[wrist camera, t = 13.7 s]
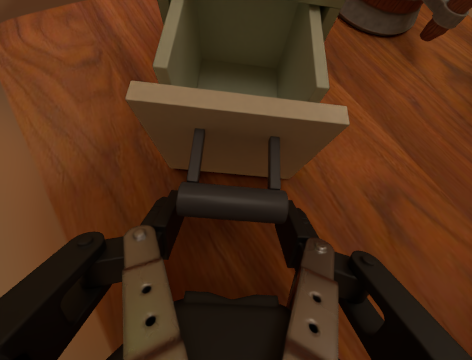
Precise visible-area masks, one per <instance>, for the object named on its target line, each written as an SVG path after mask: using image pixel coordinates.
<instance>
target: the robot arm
mask: <svg viewBox="0 0 472 360" xmlns="http://www.w3.org/2000/svg"><path fill="white" fill-rule="evenodd" d="M177 193H178V190H172V191H171V192H170V194H169V196H168V197H162V198H160V199H159V200H157V201H156V202H155V204H154V205H153V207H152V208H151V210H150V211H149V213H148V214H147V216H146V217H145V219H144V220H143V222H142V223H141V225H140V226H136V227H133V228H131V229H130V230H128V231H127V232H126V233H125V235H124V236H123V237H118V238H112V239H105V238H104V235H103V234H102V233H100V232H88V233H84V234H81V235H79V236H76V237H75V238H73V239H72V240H70V241H69V242H68V243H67V244H66V245H64V246H63V247H62V248H61V249H60V250H58V251H57V252H56V253H55V254H53V255H52V256H51V257H50V258H48V259H47V260H46V261H45V262H44V263H42V264H41V265H40V266H39V267H37V268H36V269H35V270H34V271H32V272H31V273H30V274H29V275H28V276H26V277H25V278H24V279H23V280H22V281H20V282H19V283H18V284H17V285H15V286H14V287H13V288H12V289H10V290H9V291H8V292H7V293H6V294H4V295H3V296H2V297H1V298H0V360H57V359H58V358H59V357H60V355H61V354H62V353H63V351H64V349H65V348H66V347H67V346H68V344H69V343H70V342H71V340H72V339H73V337H74V336H75V335H76V333H77V332H78V331H79V329H80V328H81V326H82V325H83V324H84V322H85V321H86V320H87V318H88V317H89V316H90V314H91V313H92V311H93V310H94V309H95V307H96V306H97V305H98V303H99V302H100V300H101V299H102V298H103V296H104V295H105V294H106V292H107V291H108V290H109V288H110V287H111V285H112V284H114V283H118V282H122V294H123V344H122V345H121V346H120V347H119V348H118V349H117V350H116V351H115V352H114V353H113V354H111V355H110V356H109V357H108V358H107V359H106V360H340V359H339V358H338V303H339V305H340V306H341V308H342V310H343V311H344V313H345V315H346V317H347V318H348V320H349V322H350V323H351V325H352V327H353V329H354V330H355V332H356V334H357V335H358V337H359V339H360V341H361V342H362V344H363V346H364V347H365V349H366V351H367V353H368V354H369V356H370V358H371V359H372V360H472V358H471V357H470V356H469V354H468V353H467V352H466V351H465V350H464V349H463V348H462V347H461V346H460V345H459V344H458V343H457V342H456V341H455V340H454V339H453V338H452V337H451V336H450V335H449V333H448V332H447V331H446V330H445V329H444V328H443V327H442V326H441V325H440V324H439V323H438V322H437V321H436V320H435V319H434V318H433V317H432V316H431V315H430V314H429V313H428V311H427V310H426V309H425V308H424V307H423V306H422V305H421V304H420V303H419V302H418V301H417V300H416V299H415V298H414V297H413V296H412V295H411V294H410V293H409V292H408V291H407V289H406V288H405V287H404V286H403V285H402V284H401V283H400V282H399V281H398V280H397V279H396V278H395V277H394V276H393V275H392V274H391V273H390V272H389V271H388V270H387V269H386V267H385V266H384V265H383V264H382V263H381V262H380V261H379V260H378V259H376V258H375V257H374V256H372V255H370V254H368V253H366V252H363V251H354V252H353V253H352V254H351V256H347V255H343V254H340V253H337V252H334V249H333V247H332V246H331V245H330V244H329V243H328V242H326V241H324V240H322V239H320V238H319V237H318V235H317V234H316V232H315V230H314V228H313V227H312V225H311V224H310V221H309V220H308V218H307V216H306V214H305V213H304V212H303V211H302V210H301V209H299V208H296V207H295V205H294V203H293V201H292V200H288V215H287V219H286V221H285V223H283V224H275V228H276V232H277V235H278V238H279V241H280V245H281V248H282V251H283V255H284V258H285V261H286V265H287V268H295V271H296V272H295V275H294V278H293V282H292V286H291V289H290V293H289V297H288V301H287V305H286V307H285V306H283V305H280V304H279V302H278V297H277V296H272V295H251V296H247V297H242V298H238V299H228V298H225V297H222V296H219V295H216V294H213V293H209V292H196V291H185V295H184V299H181V300H178V301H175V302H173V299H172V295H171V291H170V287H169V282H168V278H167V274H166V270H165V266H164V261H163V260H168V259H169V256H170V253H171V251H172V248H173V245H174V243H175V240H176V238H177V235H178V232H179V230H180V227H181V224H182V222H183V219H184V217H183V216H178V215H177V211H176V200H177ZM369 294H370V296H371V297H372V298H373V299H374V301H375V302H376V303H377V305H378V306H379V307H380V309H381V310H382V312H383V314H384V319H385V321H384V320H383V319H382V318H381V316H380V315H379V314H378V312H377V311H376V309H375V308H374V307H373V305H372V304H371V303H370V301H369V300H368V298H367V296H368V295H369Z"/></svg>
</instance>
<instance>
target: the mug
mask: <svg viewBox="0 0 472 360" xmlns="http://www.w3.org/2000/svg"><path fill="white" fill-rule="evenodd" d="M423 3H425V4H426V5H427V7H428V8H429V9H430V10H431V11H432V12H433V13H434V14H433V15H432V17H433V18H432V19H431V20H430V21H429V22H428V24H427V25H426V27H425V28H424V29H423V31H422V32H421V34H420V37H421V39H422V40H424V41H430V40H432V39H434V38H436V37H438V36H440V35H443V34H444V33H445V32H446V31H447V30H449V29H452V28H455V27H456V26H457V25H458V24H459V23H460V22H461V21H462V20H463V19H464V18H465V17H466V16H467V15H468V13H469V11H468V10H469V9H470V8H472V0H345V2H344V4H343V6H342V8H341V10H340V12H339V14H338V15H339V16H340V17H341V18H342V19H344V20H345V21H346V22H347V23H349V24H350V25H352V26H353V27H355V28H357V29H359V30H361V31H364V32H367V33H370V34H375V35H382V36H389V35H395V34H399V33H402V32H405V31H407V30H409V29H410V28H411V27H412V26H413V25H414V23H415V21H416V18H417V16H418V13H419V11H420V8H421V5H422V4H423Z"/></svg>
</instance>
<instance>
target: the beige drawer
mask: <svg viewBox="0 0 472 360" xmlns="http://www.w3.org/2000/svg"><path fill="white" fill-rule="evenodd" d="M153 69H154V72H155V74H156V77H157V80H158V82H159V84H156V83H148V82H139V81H131V82H130V85H129V89H128V92H127V95H126V98H125V100H126V101H127V103H128V104H129V106H130V107H131V109H132V111H133V112H134V114H135V115H136V117H137V118H138V120H139V121H140V123H141V124H142V126H143V127H144V129H145V131H146V132H147V134H148V135H149V137H150V138H151V140H152V141H153V143H154V144H155V146H156V147H157V149H158V151H159V152H160V154H161V155H162V157H163V158H164V160H165V161H166V163H167V164H168V166H169V167H170V168H176V169H186V170H188V174H187V182H182V183H181V184H180V186H179V189H178V193H177V200H176V211H177V215H178V216H183V217H196V218H209V219H222V220H235V221H248V222H261V223H274V224H283V223H285V221H286V219H287V215H288V196H287V193H286V192H285V191H282V190H280V189H281V179H280V178H283V179H290V178H291V177H292V176H293V175H294V174H295V173H297V172H298V171H299V170H300V169H301V168H302V167H303V166H304V165H305V164H307V163H308V162H309V161H310V160H311V159H312V158H313V157H314V156H315V155H317V154H318V153H319V152H320V151H321V150H322V149H323V148H324V147H325V146H326V145H328V144H329V143H330V142H331V141H332V140H333V139H334V138H335V137H336V136H338V135H339V134H340V133H341V132H342V131H343V130H344V129H345V128H346V127H348V126H349V118H348V112H347V107H346V106H339V105H331V104H322V103H320V101H321V100H322V98H323V97H324V96H325V94H326V93H327V91H328V90H329V80H328V72H327V64H326V56H325V48H324V40H323V32H322V24H321V16H320V8H319V5H313V4H307V3H300V2H294V1H287V0H171V3H170V6H169V10H168V13H167V17H166V21H165V24H164V28H163V31H162V35H161V38H160V42H159V45H158V49H157V52H156V56H155V59H154V63H153ZM200 171H208V172H219V173H229V174H240V175H251V176H262V177H268V189H260V188H249V187H237V186H226V185H215V184H204V183H199V178H200Z"/></svg>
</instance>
